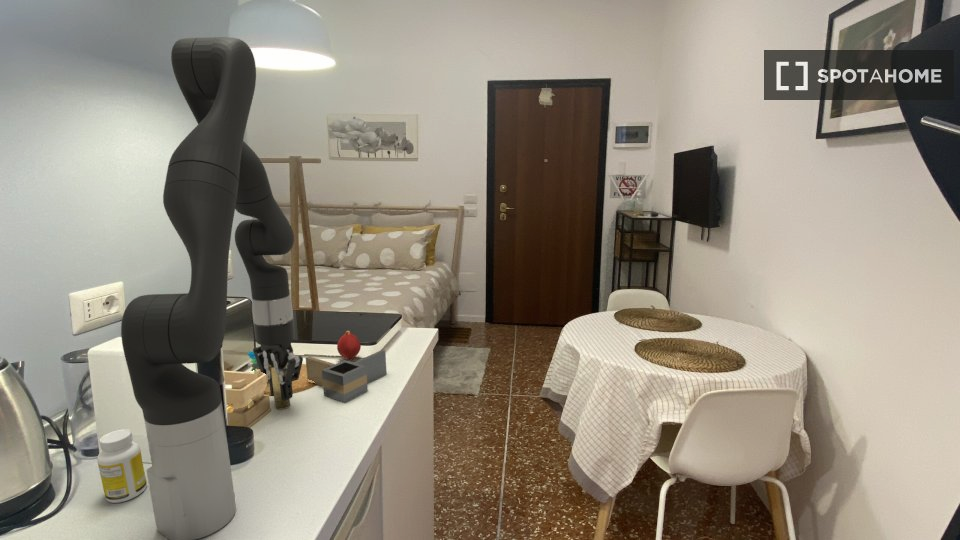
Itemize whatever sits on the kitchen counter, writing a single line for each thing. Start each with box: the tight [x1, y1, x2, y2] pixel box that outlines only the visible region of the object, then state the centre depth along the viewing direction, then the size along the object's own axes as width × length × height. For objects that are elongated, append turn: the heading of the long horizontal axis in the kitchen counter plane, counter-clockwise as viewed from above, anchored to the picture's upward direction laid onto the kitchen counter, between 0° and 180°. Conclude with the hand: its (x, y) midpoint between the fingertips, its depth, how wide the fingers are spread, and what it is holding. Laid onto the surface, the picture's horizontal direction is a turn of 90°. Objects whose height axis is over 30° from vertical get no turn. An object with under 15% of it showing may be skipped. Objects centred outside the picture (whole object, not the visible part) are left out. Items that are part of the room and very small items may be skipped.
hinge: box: [305, 349, 387, 404], centre depth 117 cm, size 16×16×6 cm
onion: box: [336, 330, 362, 361], centre depth 129 cm, size 6×6×8 cm
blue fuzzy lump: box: [247, 350, 264, 371], centre depth 119 cm, size 11×6×10 cm
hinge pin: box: [271, 365, 291, 410], centre depth 105 cm, size 3×3×9 cm
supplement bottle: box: [96, 428, 148, 504], centre depth 78 cm, size 5×5×10 cm
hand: (281, 396), depth 106 cm, fingers closed on hinge pin, 3 cm apart
